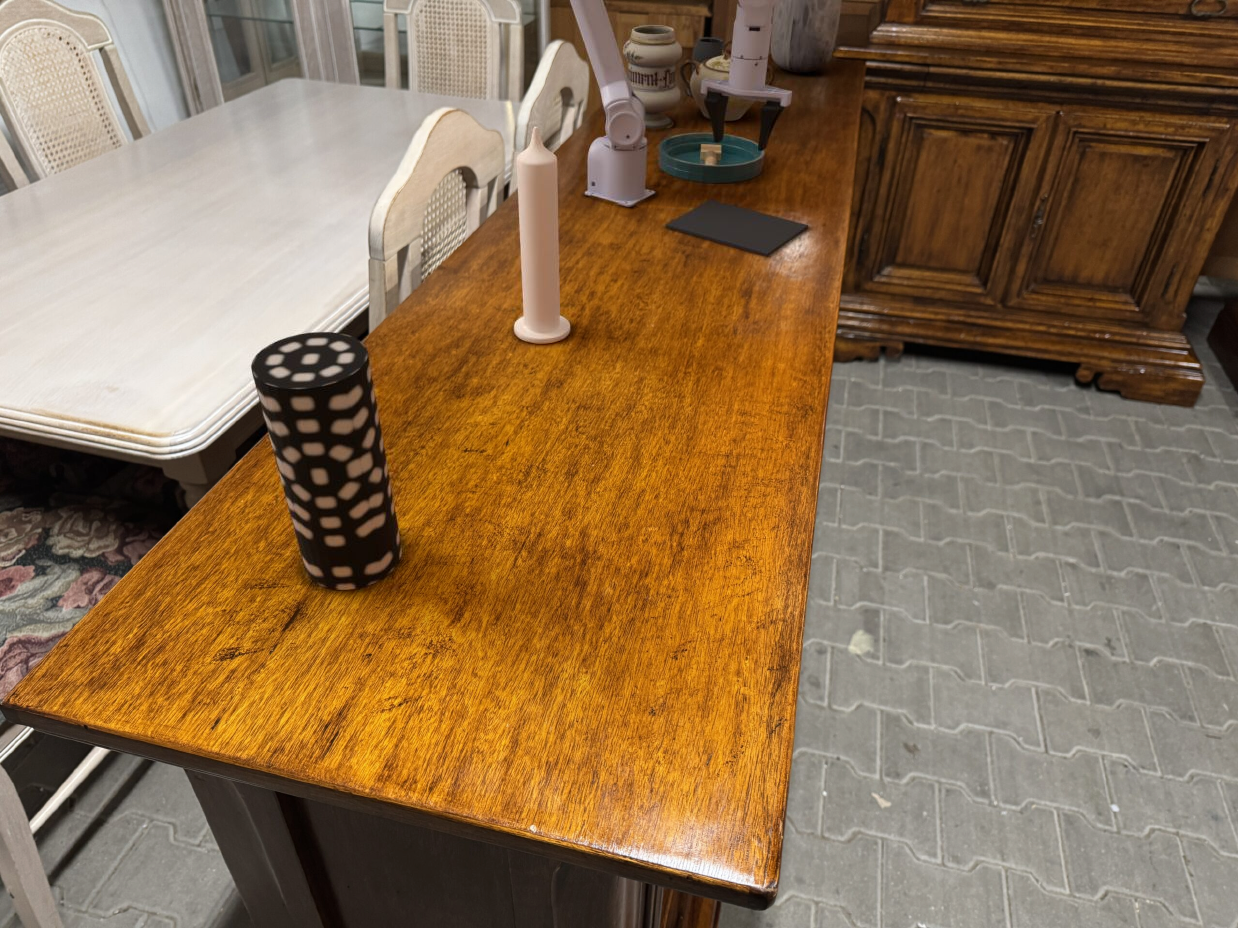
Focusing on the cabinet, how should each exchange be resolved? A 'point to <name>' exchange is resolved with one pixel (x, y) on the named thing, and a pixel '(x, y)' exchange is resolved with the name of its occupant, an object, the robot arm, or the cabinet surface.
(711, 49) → the mug
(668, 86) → the apothecary jar
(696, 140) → the bowl
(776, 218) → the mat
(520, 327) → the candle
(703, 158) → the wooden handle
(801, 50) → the vase
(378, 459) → the white-spotted black cylinder
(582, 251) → the cabinet surface
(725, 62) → the sugar bowl
